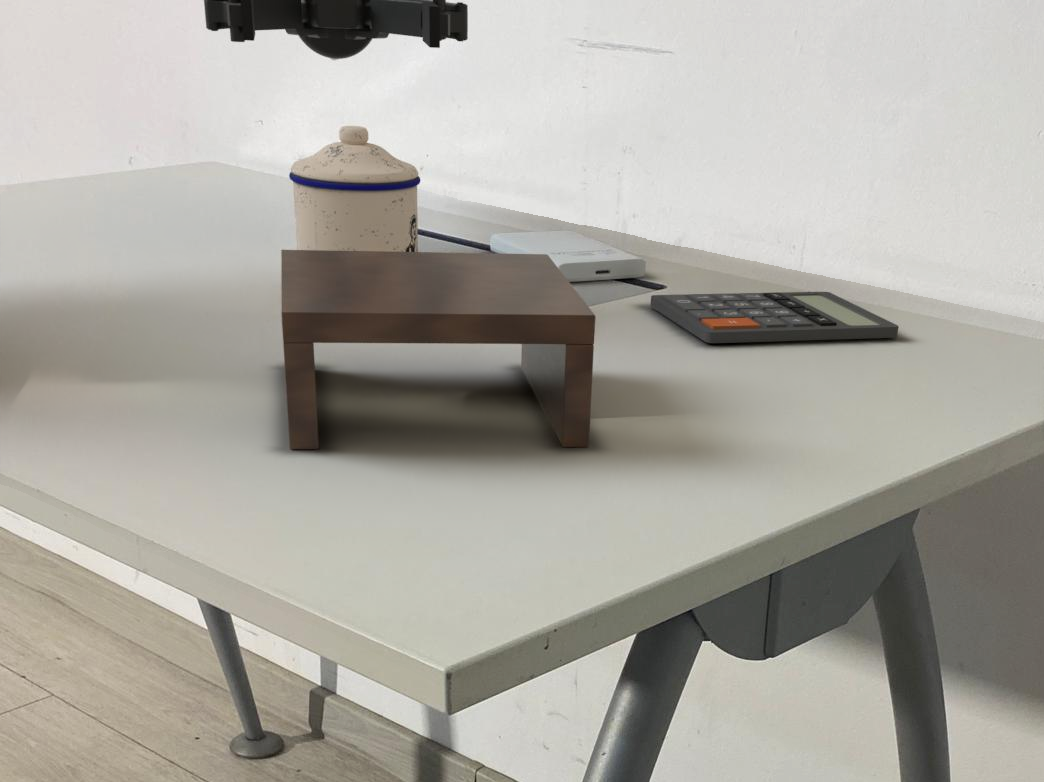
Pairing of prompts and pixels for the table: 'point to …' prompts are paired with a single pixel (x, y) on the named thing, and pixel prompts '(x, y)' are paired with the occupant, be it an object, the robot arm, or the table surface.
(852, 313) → the calculator
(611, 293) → the table surface
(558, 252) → the hard drive
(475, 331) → the shelf
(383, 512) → the table surface
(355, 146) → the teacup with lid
